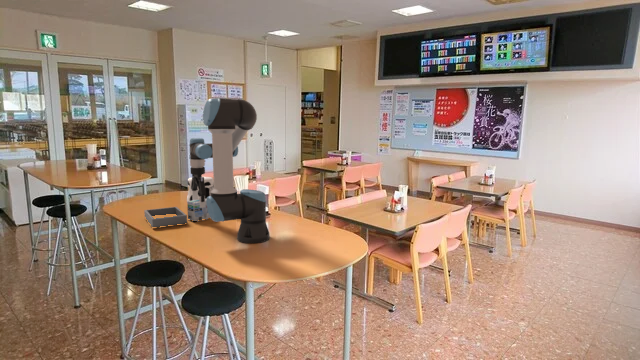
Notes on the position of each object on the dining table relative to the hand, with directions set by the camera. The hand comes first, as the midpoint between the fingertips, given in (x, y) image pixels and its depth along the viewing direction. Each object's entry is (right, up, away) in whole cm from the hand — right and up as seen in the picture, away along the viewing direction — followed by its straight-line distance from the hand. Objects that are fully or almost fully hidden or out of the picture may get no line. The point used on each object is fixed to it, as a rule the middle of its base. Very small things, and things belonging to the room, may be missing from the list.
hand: (198, 204), depth 214 cm
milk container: (-8, -3, +30) cm, 31 cm away
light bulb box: (0, -8, +1) cm, 9 cm away
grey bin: (-16, -9, -5) cm, 19 cm away
